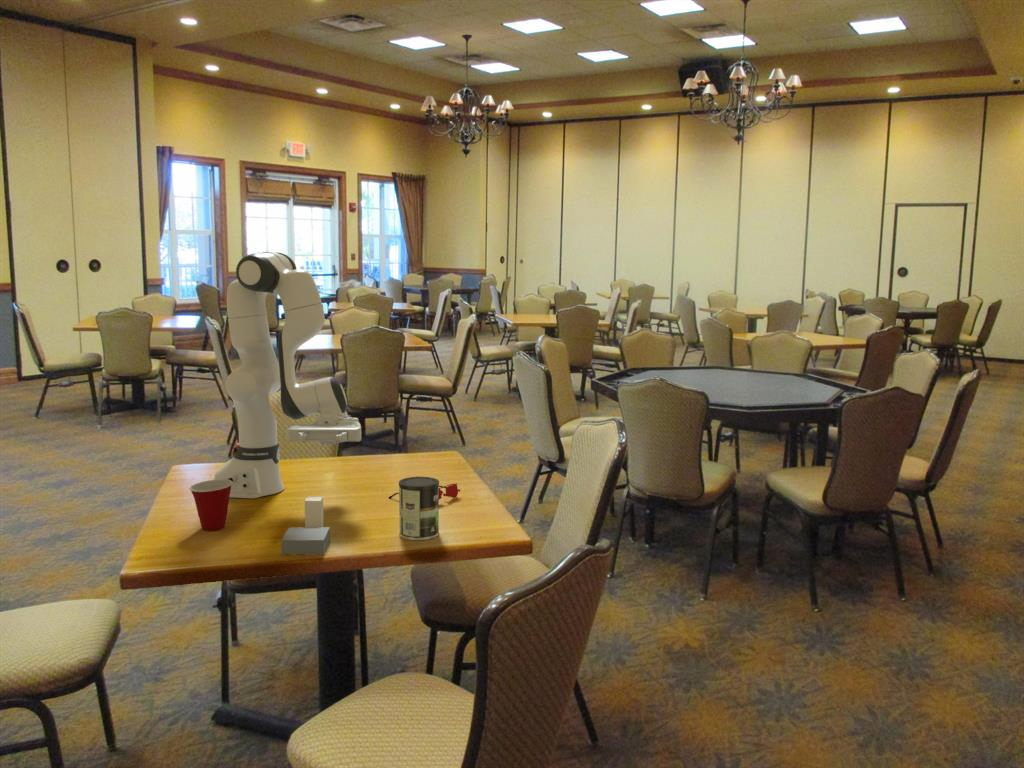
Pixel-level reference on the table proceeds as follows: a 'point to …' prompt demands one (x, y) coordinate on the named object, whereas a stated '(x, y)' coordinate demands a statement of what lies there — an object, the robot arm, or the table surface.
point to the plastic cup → (212, 502)
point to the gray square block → (305, 540)
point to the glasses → (450, 491)
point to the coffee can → (419, 508)
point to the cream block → (314, 511)
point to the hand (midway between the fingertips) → (320, 439)
